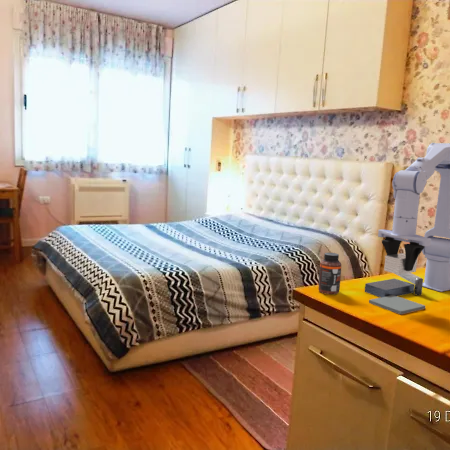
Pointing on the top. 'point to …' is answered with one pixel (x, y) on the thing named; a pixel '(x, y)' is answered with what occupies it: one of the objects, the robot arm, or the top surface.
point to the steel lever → (414, 280)
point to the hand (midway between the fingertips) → (400, 268)
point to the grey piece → (389, 288)
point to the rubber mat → (397, 304)
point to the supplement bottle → (330, 274)
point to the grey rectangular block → (397, 264)
